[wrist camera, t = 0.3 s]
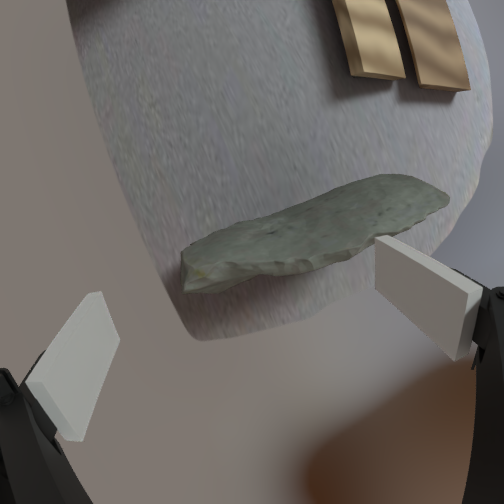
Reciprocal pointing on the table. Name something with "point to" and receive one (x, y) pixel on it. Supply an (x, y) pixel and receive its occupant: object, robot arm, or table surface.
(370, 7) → the plank
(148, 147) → the table surface
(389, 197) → the rock
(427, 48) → the board
